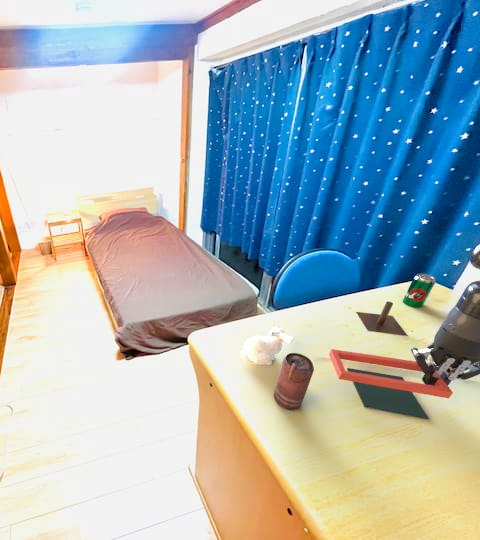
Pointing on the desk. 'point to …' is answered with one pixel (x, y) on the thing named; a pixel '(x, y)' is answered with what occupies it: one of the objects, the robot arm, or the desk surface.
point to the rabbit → (264, 347)
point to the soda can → (419, 290)
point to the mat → (388, 397)
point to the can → (293, 381)
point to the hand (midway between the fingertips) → (432, 385)
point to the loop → (336, 356)
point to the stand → (381, 321)
